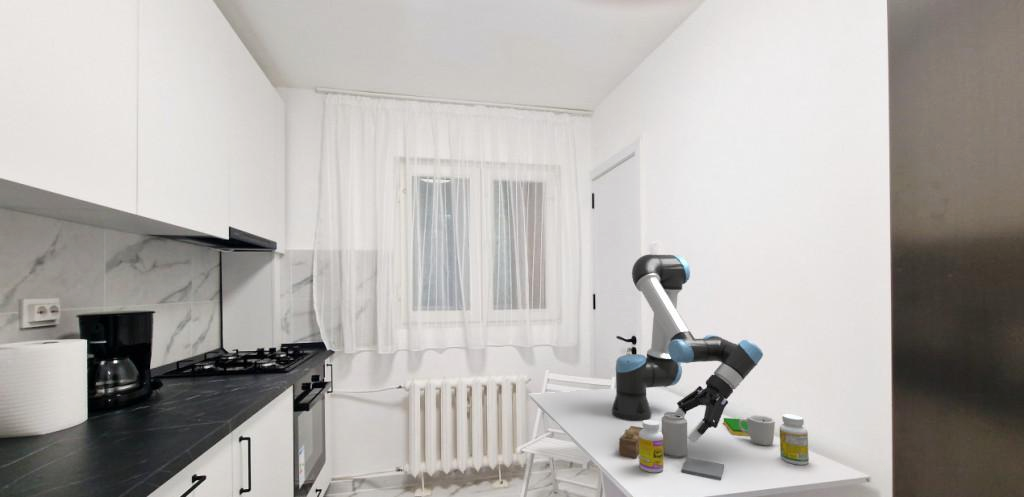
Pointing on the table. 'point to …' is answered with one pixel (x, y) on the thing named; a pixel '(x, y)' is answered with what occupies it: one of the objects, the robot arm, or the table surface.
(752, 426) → the cup
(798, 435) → the supplement bottle
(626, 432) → the walnut block
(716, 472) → the trivet
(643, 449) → the supplement bottle
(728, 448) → the table surface
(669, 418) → the can
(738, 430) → the dish sponge
